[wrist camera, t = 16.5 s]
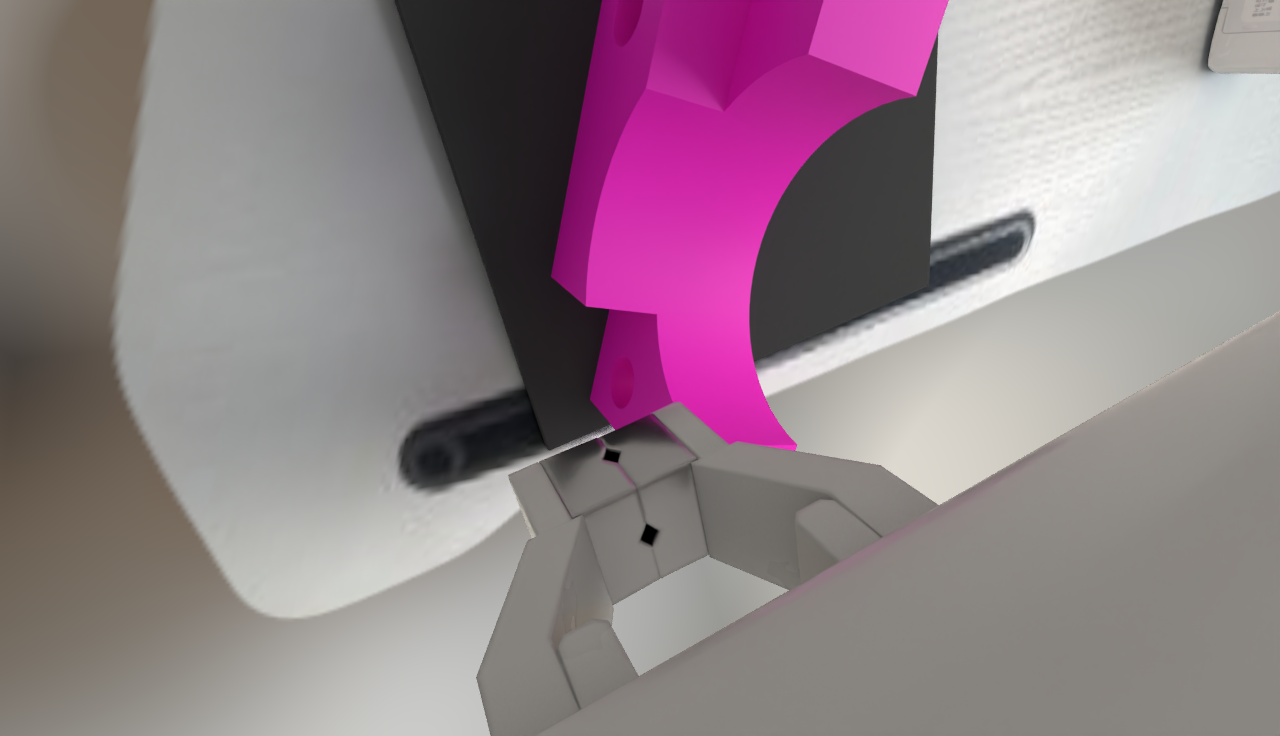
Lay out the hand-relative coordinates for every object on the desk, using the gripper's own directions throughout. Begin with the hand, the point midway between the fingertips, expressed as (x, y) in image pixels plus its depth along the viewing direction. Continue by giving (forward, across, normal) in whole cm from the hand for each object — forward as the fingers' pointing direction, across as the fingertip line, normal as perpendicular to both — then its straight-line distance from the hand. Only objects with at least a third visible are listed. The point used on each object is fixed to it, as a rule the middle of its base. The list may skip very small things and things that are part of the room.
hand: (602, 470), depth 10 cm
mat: (+13, -11, 0) cm, 17 cm away
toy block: (+13, -7, 0) cm, 15 cm away
